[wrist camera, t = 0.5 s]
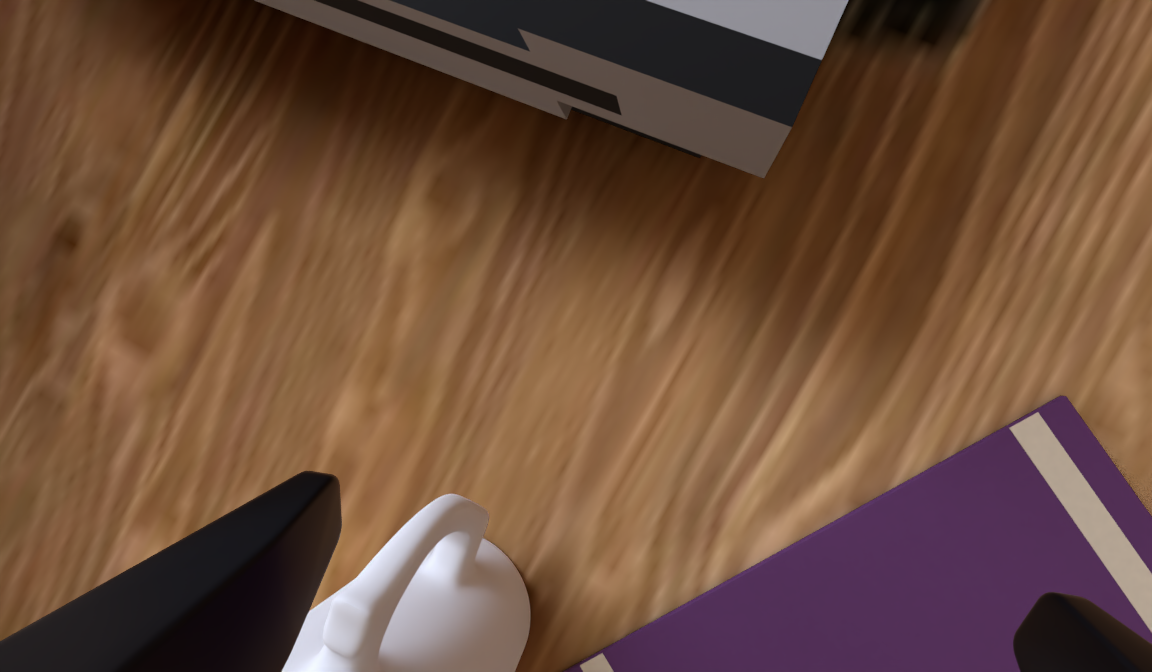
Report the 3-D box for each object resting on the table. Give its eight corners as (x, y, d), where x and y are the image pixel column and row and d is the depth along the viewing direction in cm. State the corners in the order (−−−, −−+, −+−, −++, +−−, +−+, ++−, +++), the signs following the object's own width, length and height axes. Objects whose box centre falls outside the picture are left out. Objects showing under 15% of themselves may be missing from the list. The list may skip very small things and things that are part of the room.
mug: (500, 726, 23) (311, 1138, 11) (350, 646, 24) (35, 946, 12) (597, 488, 22) (504, 662, 11) (439, 416, 23) (194, 502, 12)
